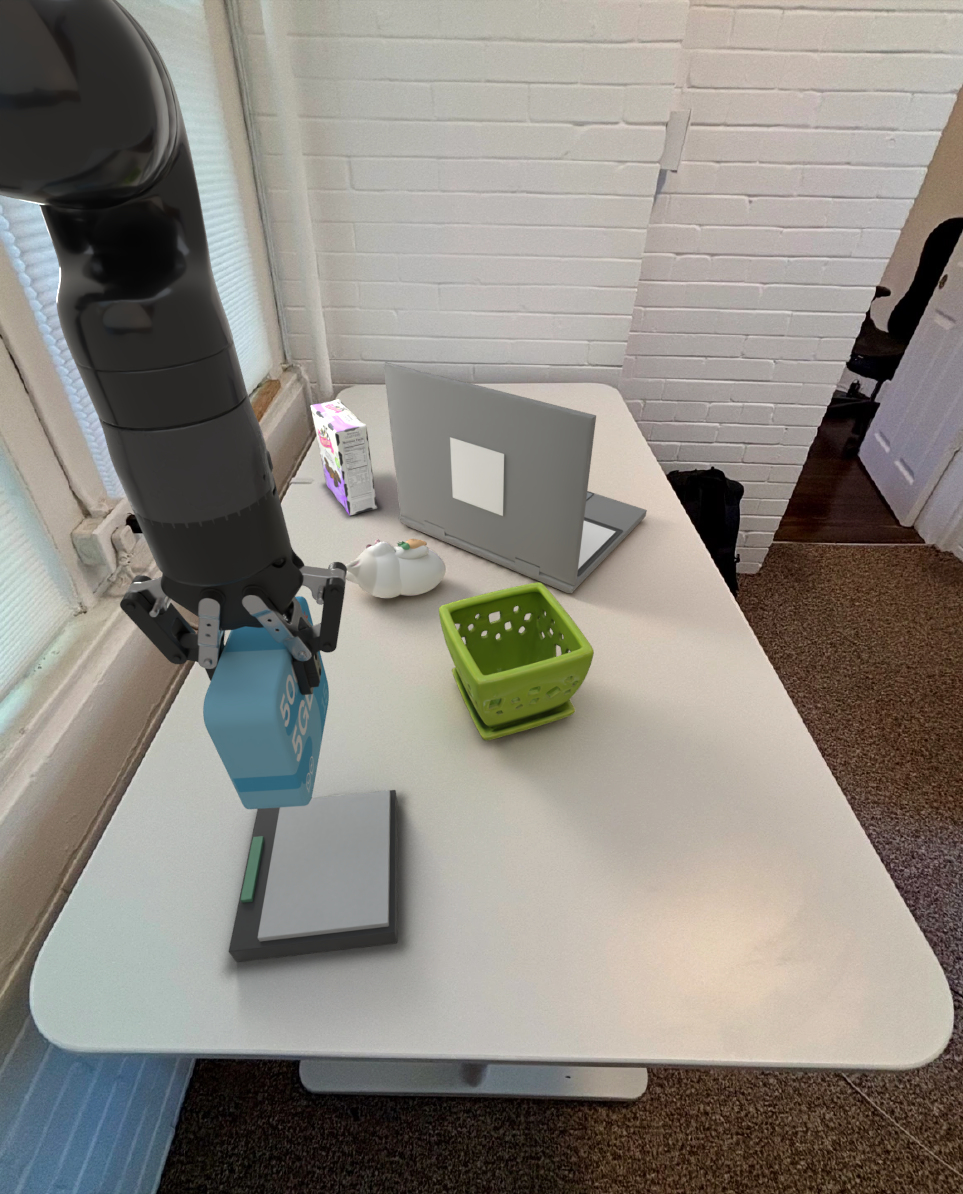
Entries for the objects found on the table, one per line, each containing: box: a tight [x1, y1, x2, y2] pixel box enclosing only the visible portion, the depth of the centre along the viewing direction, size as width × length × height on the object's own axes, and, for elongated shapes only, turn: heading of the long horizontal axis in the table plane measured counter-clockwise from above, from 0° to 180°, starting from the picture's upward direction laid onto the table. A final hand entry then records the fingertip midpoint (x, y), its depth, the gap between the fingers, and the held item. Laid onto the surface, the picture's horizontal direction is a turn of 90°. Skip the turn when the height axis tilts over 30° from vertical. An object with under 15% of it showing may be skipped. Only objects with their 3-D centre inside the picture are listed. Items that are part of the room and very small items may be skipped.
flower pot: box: [438, 581, 595, 741], centre depth 70 cm, size 14×14×13 cm
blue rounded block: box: [202, 595, 330, 810], centre depth 44 cm, size 12×4×12 cm, turn 4°
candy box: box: [310, 398, 378, 516], centre depth 108 cm, size 14×6×16 cm, turn 30°
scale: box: [228, 789, 399, 963], centre depth 56 cm, size 14×14×3 cm
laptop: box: [383, 361, 648, 594], centre depth 96 cm, size 35×26×28 cm
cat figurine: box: [344, 538, 446, 599], centre depth 88 cm, size 10×8×15 cm
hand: (272, 688), depth 43 cm, fingers closed on blue rounded block, 4 cm apart
